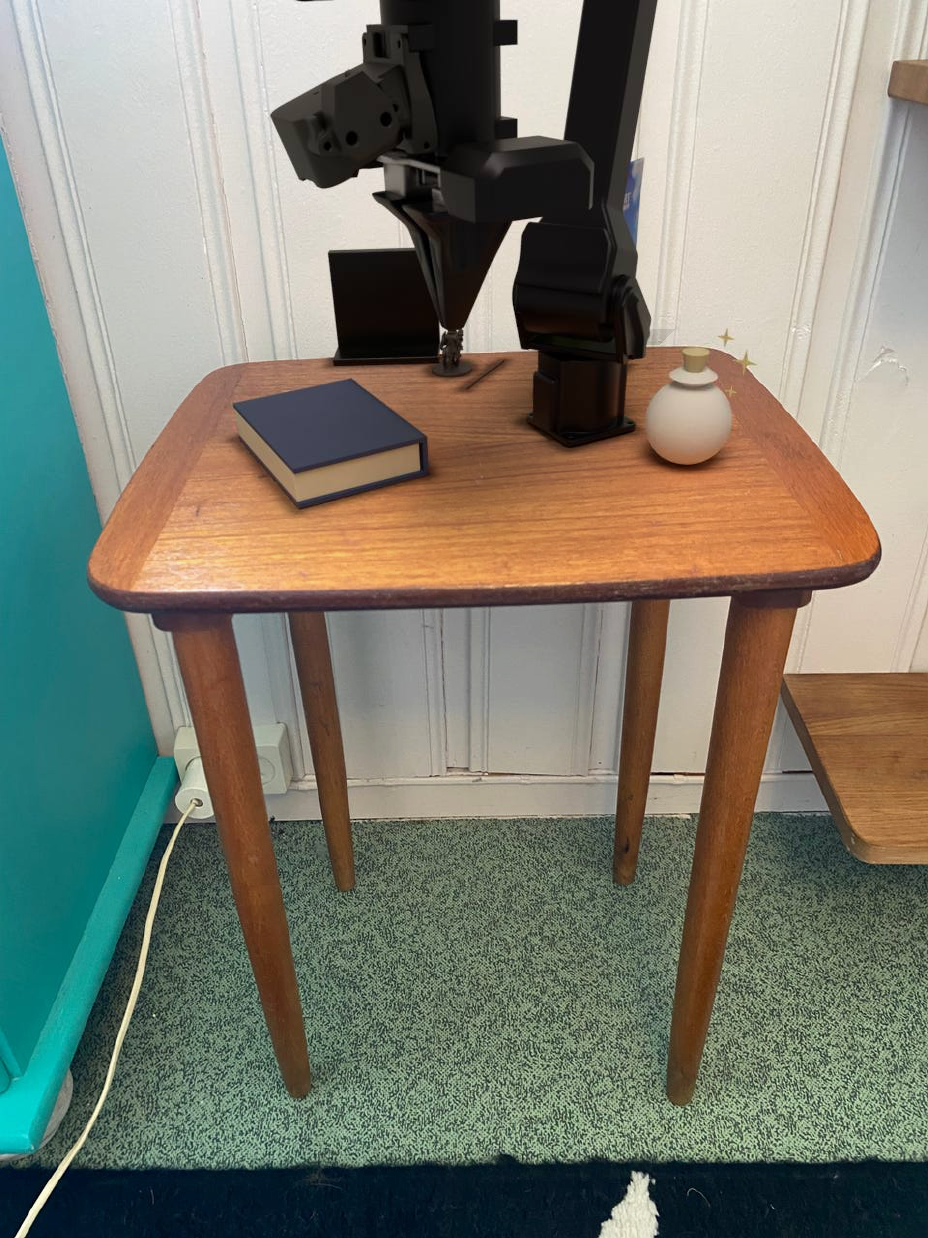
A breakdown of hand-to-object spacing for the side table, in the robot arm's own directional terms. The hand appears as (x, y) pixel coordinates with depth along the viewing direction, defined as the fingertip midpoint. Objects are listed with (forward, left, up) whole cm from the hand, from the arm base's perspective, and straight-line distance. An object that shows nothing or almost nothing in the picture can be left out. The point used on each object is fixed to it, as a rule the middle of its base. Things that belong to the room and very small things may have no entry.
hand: (452, 328), depth 52 cm
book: (+3, -15, -13) cm, 20 cm away
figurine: (-14, -27, -13) cm, 33 cm away
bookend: (-10, -34, -13) cm, 38 cm away
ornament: (-19, 0, -13) cm, 23 cm away
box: (-22, -18, -13) cm, 32 cm away
